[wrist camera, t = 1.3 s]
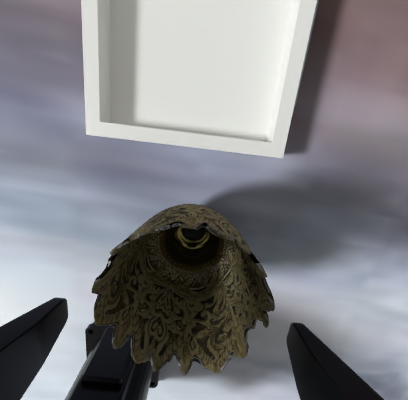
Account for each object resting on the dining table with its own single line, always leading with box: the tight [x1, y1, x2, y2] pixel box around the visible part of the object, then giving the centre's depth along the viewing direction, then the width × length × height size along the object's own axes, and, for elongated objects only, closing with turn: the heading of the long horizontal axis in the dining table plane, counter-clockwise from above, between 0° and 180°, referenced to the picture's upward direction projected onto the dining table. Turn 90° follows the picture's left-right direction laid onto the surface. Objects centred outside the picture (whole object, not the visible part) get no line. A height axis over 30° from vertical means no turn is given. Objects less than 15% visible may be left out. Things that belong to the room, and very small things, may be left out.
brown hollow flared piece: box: [92, 204, 275, 376], centre depth 13 cm, size 8×7×8 cm
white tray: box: [81, 0, 319, 158], centre depth 12 cm, size 12×12×2 cm
